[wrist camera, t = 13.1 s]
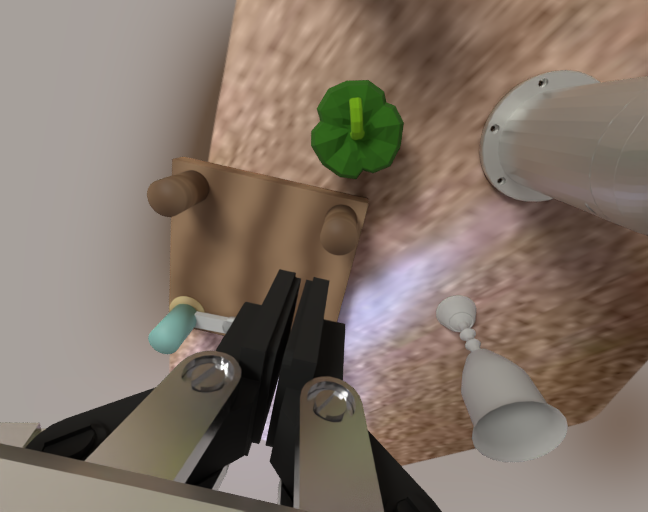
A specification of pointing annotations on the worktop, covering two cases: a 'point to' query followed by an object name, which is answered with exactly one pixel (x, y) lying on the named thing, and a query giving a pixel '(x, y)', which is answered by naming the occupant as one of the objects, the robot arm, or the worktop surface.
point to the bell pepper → (356, 129)
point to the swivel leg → (184, 327)
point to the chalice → (501, 396)
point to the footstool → (252, 235)
